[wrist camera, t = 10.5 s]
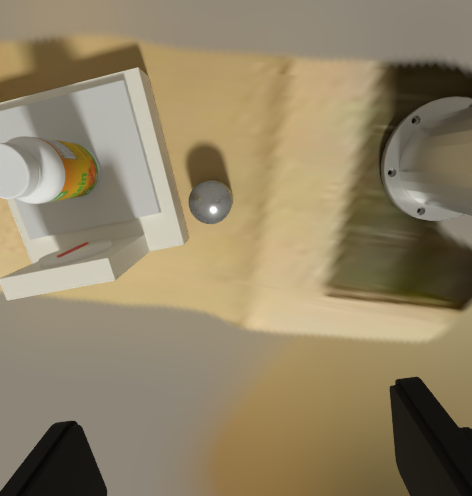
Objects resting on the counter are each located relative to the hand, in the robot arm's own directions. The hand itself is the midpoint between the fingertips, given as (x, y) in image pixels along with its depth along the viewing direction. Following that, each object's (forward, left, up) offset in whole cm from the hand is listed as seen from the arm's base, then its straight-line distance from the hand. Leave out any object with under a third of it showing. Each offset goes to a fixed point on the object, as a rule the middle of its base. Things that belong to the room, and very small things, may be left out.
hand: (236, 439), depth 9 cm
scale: (+16, -10, -28) cm, 34 cm away
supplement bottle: (+16, -11, -25) cm, 31 cm away
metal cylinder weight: (+3, -5, -28) cm, 29 cm away
